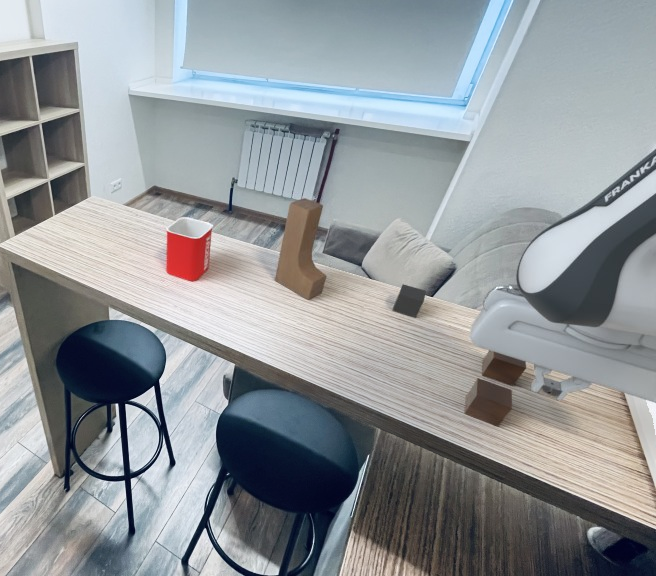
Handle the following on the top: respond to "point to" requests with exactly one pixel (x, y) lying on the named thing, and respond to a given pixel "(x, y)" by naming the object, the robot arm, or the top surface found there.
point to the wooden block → (300, 250)
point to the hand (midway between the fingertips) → (545, 393)
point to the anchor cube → (409, 300)
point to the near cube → (488, 402)
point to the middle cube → (502, 368)
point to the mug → (188, 248)
